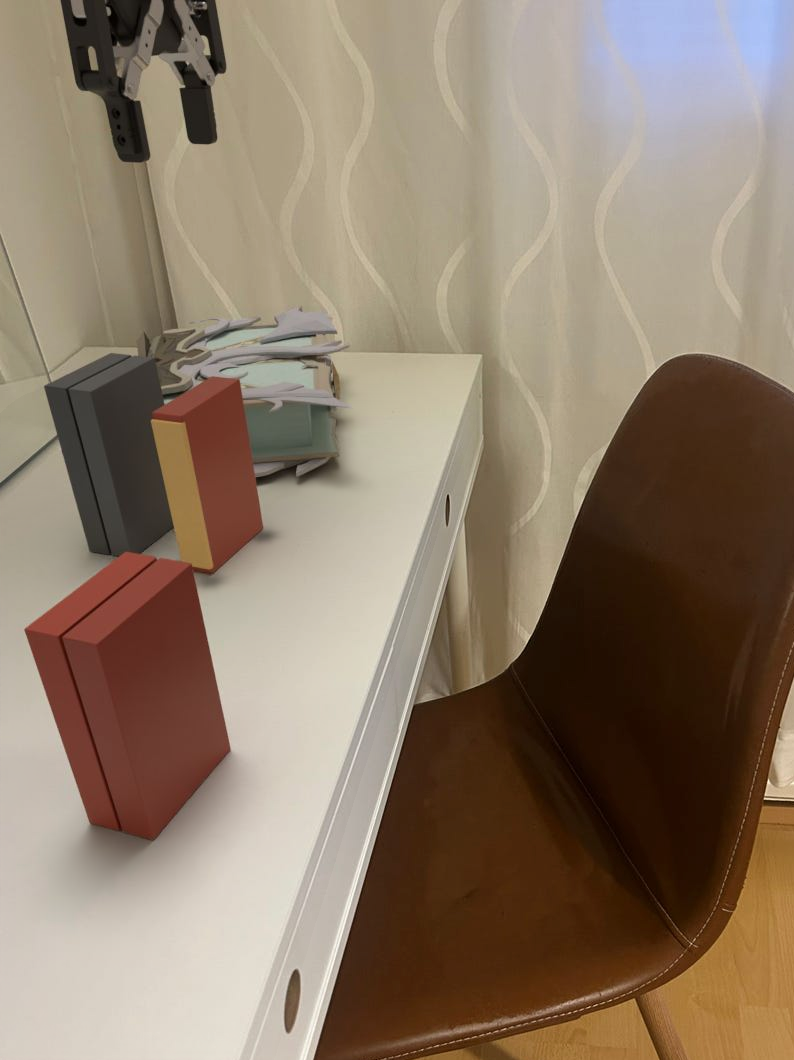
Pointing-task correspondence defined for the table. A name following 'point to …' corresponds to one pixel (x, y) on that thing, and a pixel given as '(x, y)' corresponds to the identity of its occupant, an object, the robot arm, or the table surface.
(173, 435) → the red book
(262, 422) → the ornate book
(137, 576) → the red books
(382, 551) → the table surface
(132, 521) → the grey books
